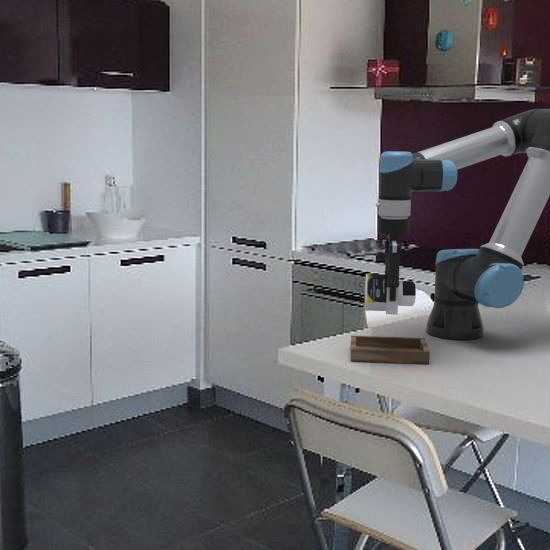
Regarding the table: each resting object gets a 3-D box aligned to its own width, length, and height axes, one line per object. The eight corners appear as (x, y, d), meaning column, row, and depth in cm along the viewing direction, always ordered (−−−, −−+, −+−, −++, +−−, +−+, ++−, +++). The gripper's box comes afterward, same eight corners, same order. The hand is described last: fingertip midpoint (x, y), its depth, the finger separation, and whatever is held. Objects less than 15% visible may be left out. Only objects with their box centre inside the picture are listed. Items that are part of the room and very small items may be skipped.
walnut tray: (350, 347, 214) (351, 335, 213) (424, 349, 212) (424, 337, 212) (351, 361, 201) (351, 349, 200) (429, 364, 199) (429, 352, 199)
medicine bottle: (365, 273, 202) (416, 274, 201) (364, 283, 209) (413, 284, 208) (365, 302, 200) (416, 303, 199) (364, 310, 207) (414, 312, 206)
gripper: (376, 212, 212) (373, 299, 216) (379, 222, 190) (376, 319, 194) (406, 212, 211) (403, 300, 215) (413, 222, 189) (409, 320, 193)
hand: (390, 309), depth 205 cm, fingers closed on medicine bottle, 9 cm apart
